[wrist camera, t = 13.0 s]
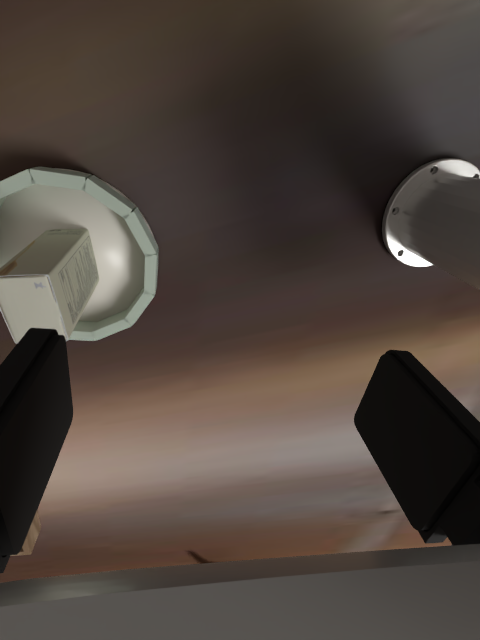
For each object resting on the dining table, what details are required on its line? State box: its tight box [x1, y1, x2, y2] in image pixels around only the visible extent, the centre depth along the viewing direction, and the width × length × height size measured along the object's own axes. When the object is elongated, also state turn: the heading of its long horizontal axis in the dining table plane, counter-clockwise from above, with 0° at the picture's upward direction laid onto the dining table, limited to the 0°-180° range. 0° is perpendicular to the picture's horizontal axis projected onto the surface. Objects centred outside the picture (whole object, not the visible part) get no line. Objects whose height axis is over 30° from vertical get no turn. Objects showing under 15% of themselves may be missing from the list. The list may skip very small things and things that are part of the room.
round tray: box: [0, 166, 159, 341], centre depth 36 cm, size 18×18×3 cm
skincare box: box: [0, 229, 99, 343], centre depth 31 cm, size 6×4×12 cm
